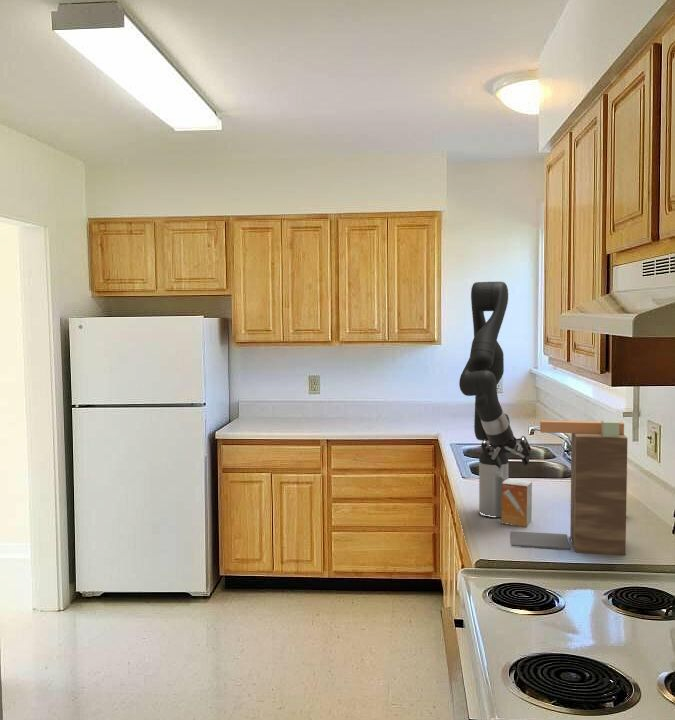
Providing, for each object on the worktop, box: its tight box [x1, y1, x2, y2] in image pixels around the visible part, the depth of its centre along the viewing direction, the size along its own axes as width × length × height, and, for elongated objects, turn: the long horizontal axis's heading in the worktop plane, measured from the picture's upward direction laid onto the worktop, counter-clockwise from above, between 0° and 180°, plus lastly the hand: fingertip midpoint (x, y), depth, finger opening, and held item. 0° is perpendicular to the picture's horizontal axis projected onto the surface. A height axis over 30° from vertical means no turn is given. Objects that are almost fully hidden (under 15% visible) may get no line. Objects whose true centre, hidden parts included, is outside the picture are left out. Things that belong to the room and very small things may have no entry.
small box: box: [500, 478, 533, 528], centre depth 222 cm, size 8×6×13 cm
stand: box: [569, 433, 628, 556], centre depth 200 cm, size 13×13×32 cm
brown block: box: [539, 419, 625, 435], centre depth 200 cm, size 3×22×3 cm, turn 77°
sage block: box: [601, 419, 620, 438], centre depth 194 cm, size 4×4×4 cm
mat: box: [510, 530, 572, 551], centre depth 205 cm, size 12×16×1 cm
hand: (513, 465), depth 222 cm, fingers open, 8 cm apart
